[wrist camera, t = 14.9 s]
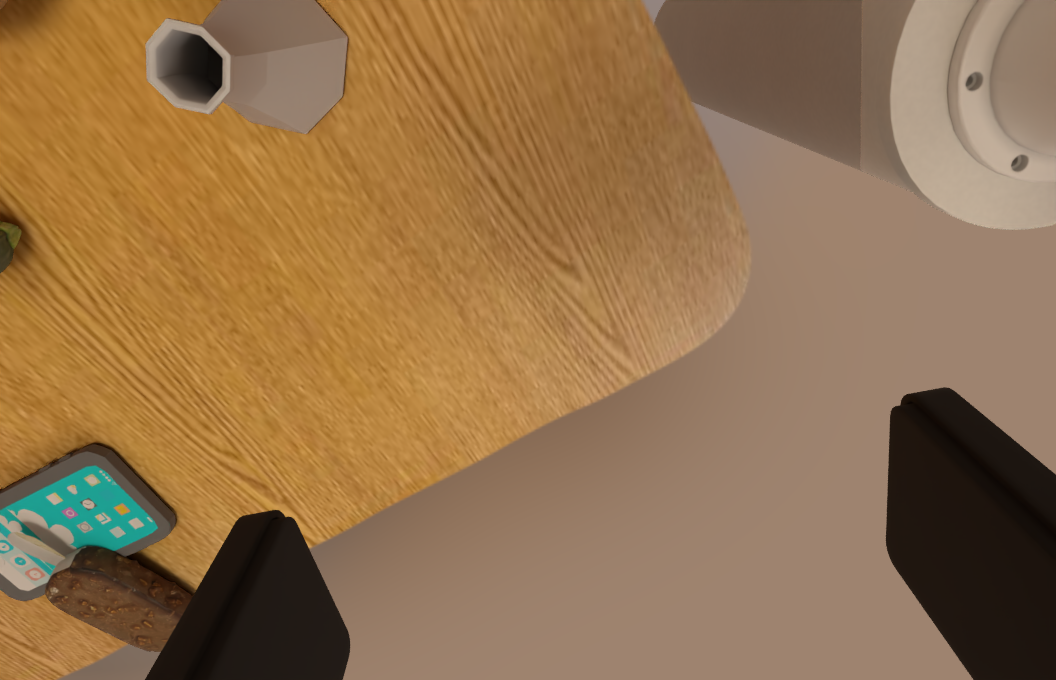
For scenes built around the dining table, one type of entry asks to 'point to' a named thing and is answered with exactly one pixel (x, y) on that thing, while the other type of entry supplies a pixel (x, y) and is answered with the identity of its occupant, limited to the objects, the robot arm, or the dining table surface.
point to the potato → (2, 3)
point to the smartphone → (76, 515)
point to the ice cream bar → (110, 592)
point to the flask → (253, 62)
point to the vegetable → (8, 243)
